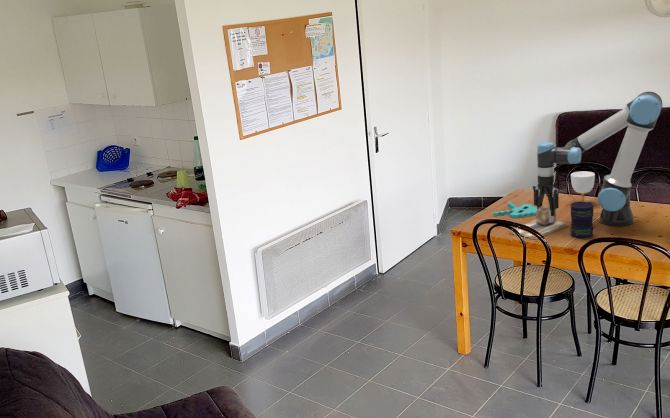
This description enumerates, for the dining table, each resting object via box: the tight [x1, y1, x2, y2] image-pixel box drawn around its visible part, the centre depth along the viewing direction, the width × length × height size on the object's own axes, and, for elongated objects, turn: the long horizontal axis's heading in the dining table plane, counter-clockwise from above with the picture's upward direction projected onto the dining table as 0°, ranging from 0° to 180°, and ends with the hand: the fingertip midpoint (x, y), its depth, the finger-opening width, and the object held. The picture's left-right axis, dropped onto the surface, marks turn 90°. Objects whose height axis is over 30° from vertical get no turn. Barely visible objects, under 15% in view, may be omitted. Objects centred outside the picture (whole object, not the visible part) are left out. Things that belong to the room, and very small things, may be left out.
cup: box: [570, 170, 596, 202], centre depth 345 cm, size 12×12×17 cm
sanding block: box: [535, 205, 557, 225], centre depth 321 cm, size 5×9×6 cm, turn 128°
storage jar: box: [570, 201, 594, 240], centre depth 304 cm, size 10×10×15 cm
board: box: [508, 219, 567, 239], centre depth 319 cm, size 15×24×2 cm, turn 128°
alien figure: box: [492, 201, 537, 219], centre depth 348 cm, size 20×2×20 cm
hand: (546, 220), depth 322 cm, fingers closed on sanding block, 5 cm apart
